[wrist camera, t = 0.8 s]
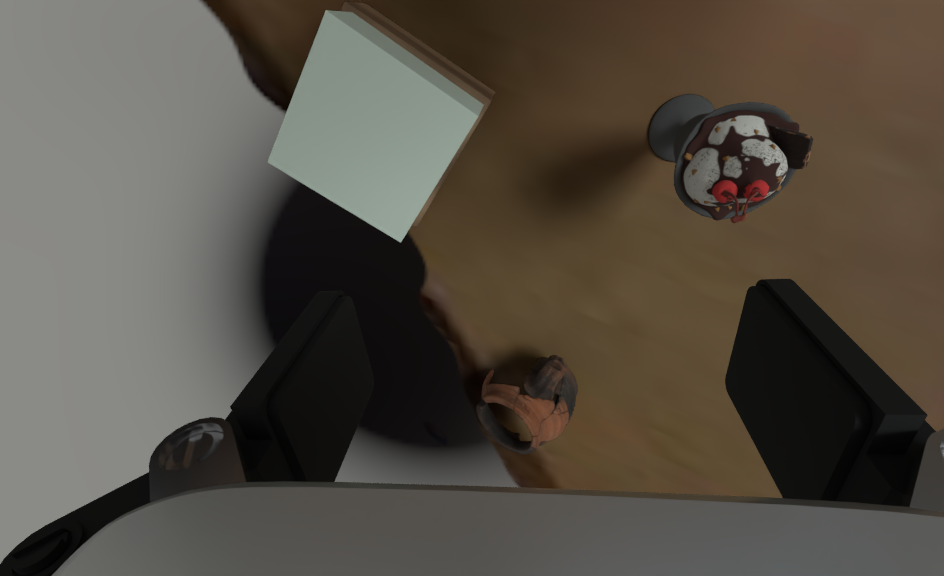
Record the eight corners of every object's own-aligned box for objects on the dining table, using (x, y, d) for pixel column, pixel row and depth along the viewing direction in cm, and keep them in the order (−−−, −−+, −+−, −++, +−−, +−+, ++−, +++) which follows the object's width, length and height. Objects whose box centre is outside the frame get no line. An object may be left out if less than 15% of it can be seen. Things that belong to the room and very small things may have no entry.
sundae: (625, 166, 36) (682, 244, 23) (653, 75, 33) (738, 107, 20) (707, 179, 36) (809, 265, 23) (744, 89, 33) (888, 131, 20)
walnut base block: (368, 4, 33) (344, 0, 28) (495, 91, 35) (491, 100, 30) (314, 136, 38) (287, 150, 34) (428, 205, 40) (416, 227, 36)
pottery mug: (568, 421, 51) (533, 476, 46) (500, 373, 54) (459, 420, 49) (610, 357, 43) (573, 416, 37) (527, 305, 46) (481, 352, 40)
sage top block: (352, 12, 29) (325, 10, 25) (483, 104, 31) (478, 116, 27) (296, 146, 33) (267, 162, 29) (414, 218, 35) (400, 242, 31)
